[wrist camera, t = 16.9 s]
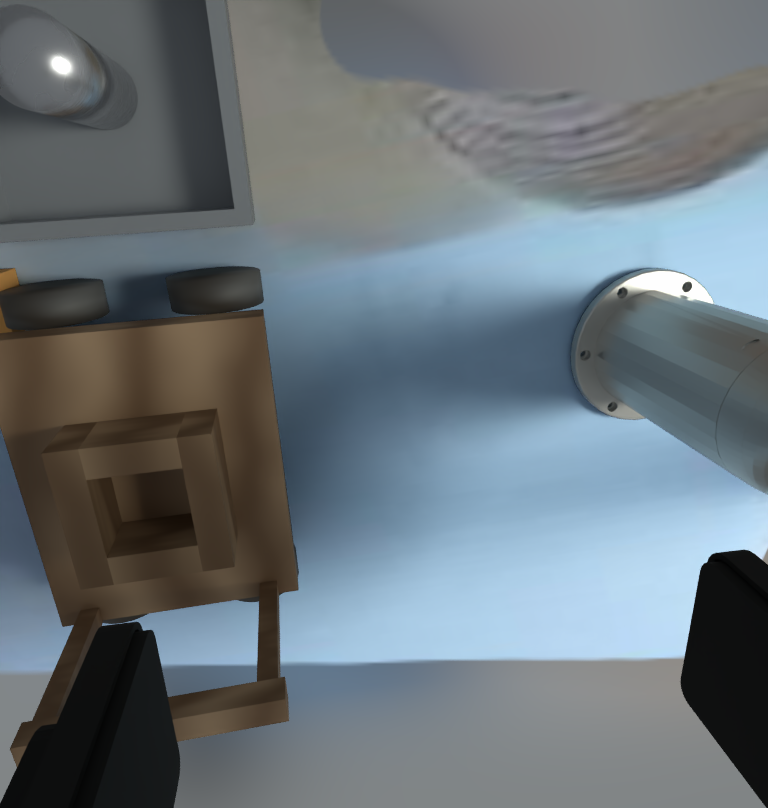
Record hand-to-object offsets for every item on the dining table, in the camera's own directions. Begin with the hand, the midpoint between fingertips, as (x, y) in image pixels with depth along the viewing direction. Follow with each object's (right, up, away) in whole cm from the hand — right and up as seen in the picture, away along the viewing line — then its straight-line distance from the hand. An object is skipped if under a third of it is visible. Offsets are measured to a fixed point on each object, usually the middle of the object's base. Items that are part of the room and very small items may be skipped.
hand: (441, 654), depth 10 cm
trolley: (-17, +2, +36) cm, 40 cm away
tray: (-18, +23, +28) cm, 40 cm away
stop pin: (-18, +23, +27) cm, 40 cm away
